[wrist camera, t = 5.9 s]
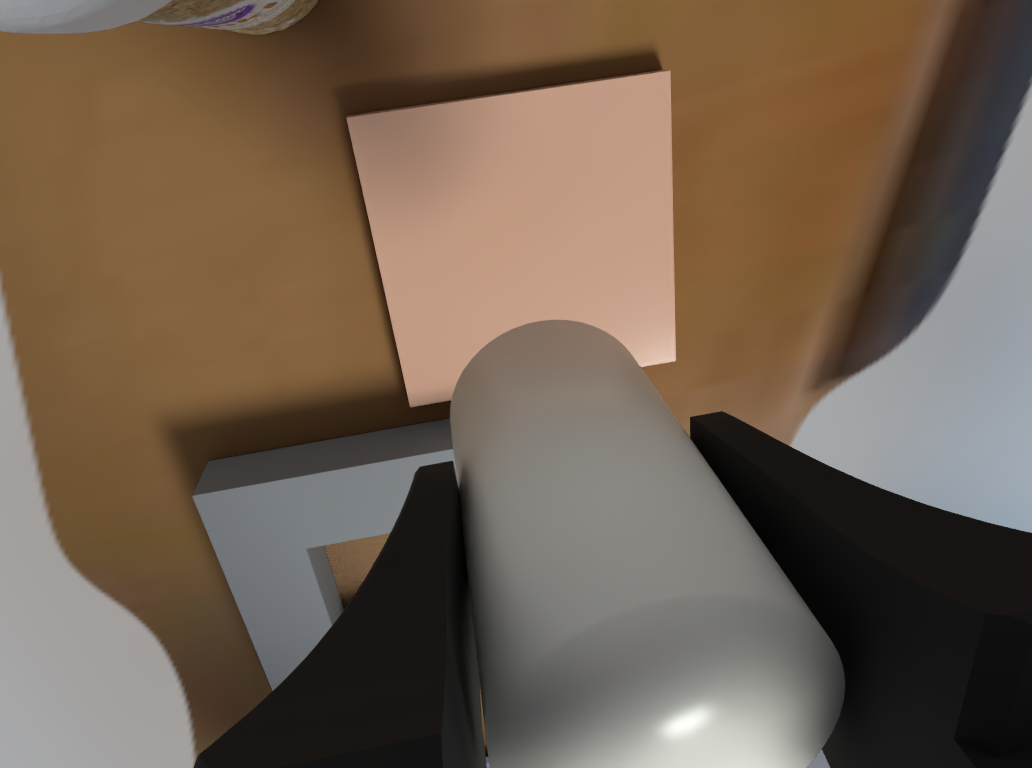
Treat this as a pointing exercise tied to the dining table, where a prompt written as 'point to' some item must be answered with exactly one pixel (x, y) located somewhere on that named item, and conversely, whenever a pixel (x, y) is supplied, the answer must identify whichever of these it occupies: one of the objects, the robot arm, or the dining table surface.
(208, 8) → the sprinkles bottle
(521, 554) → the plug
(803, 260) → the dining table surface
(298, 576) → the grey square frame
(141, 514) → the dining table surface
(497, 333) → the tile
